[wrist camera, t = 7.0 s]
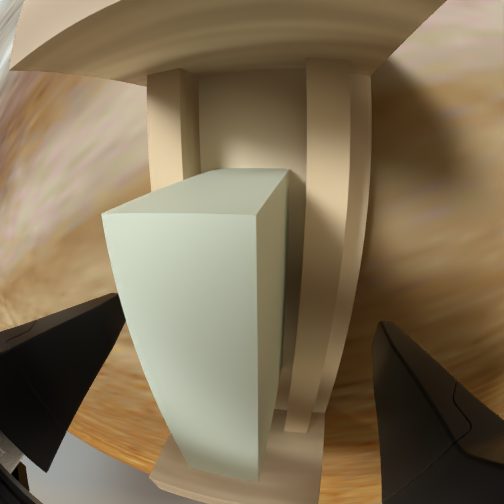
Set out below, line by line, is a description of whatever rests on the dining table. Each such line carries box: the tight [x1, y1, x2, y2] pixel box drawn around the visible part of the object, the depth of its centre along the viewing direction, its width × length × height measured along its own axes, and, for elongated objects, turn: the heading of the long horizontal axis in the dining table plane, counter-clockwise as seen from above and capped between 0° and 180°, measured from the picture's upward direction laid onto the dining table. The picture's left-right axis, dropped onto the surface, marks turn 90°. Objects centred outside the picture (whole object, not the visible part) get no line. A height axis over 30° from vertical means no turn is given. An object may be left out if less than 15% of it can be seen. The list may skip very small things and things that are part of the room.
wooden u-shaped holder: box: [9, 0, 447, 504], centre depth 8 cm, size 20×8×7 cm, turn 1°
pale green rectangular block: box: [101, 168, 290, 482], centre depth 8 cm, size 9×3×6 cm, turn 1°
